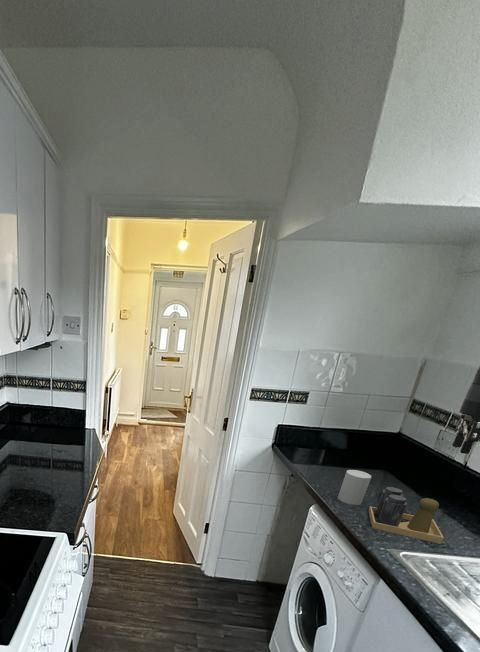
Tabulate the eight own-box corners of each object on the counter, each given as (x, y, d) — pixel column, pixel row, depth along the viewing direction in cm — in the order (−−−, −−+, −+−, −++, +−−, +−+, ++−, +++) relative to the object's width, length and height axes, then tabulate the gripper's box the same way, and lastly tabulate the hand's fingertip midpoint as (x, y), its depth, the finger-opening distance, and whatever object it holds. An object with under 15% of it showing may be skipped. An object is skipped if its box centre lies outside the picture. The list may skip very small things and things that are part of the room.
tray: (430, 525, 144) (433, 519, 143) (440, 544, 132) (444, 537, 131) (367, 512, 152) (369, 506, 151) (371, 529, 139) (373, 522, 138)
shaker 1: (392, 516, 148) (403, 488, 144) (394, 523, 143) (406, 494, 139) (373, 512, 151) (383, 485, 146) (374, 519, 146) (385, 490, 141)
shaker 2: (395, 525, 142) (407, 496, 137) (398, 532, 137) (410, 502, 132) (375, 521, 144) (386, 492, 140) (377, 528, 139) (388, 498, 135)
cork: (407, 522, 144) (419, 494, 139) (428, 528, 141) (441, 499, 136) (407, 529, 139) (419, 500, 134) (428, 535, 136) (442, 505, 131)
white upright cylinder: (365, 507, 157) (376, 478, 152) (346, 507, 155) (357, 478, 150) (350, 497, 164) (360, 469, 159) (332, 498, 162) (341, 469, 157)
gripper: (504, 404, 120) (482, 457, 126) (487, 397, 132) (467, 446, 138) (472, 401, 123) (451, 453, 129) (458, 395, 135) (440, 443, 141)
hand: (460, 450), depth 134 cm, fingers open, 8 cm apart
